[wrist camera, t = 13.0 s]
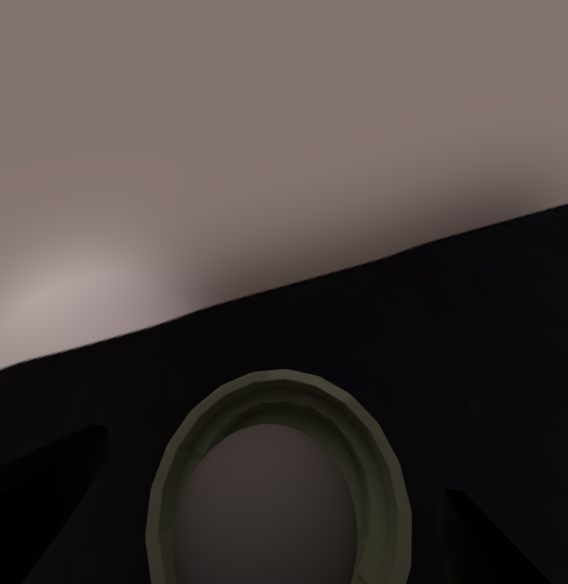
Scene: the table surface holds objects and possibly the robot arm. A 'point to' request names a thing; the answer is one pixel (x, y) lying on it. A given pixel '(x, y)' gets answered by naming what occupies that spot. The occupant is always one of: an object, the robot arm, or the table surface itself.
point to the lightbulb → (266, 513)
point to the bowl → (319, 426)
